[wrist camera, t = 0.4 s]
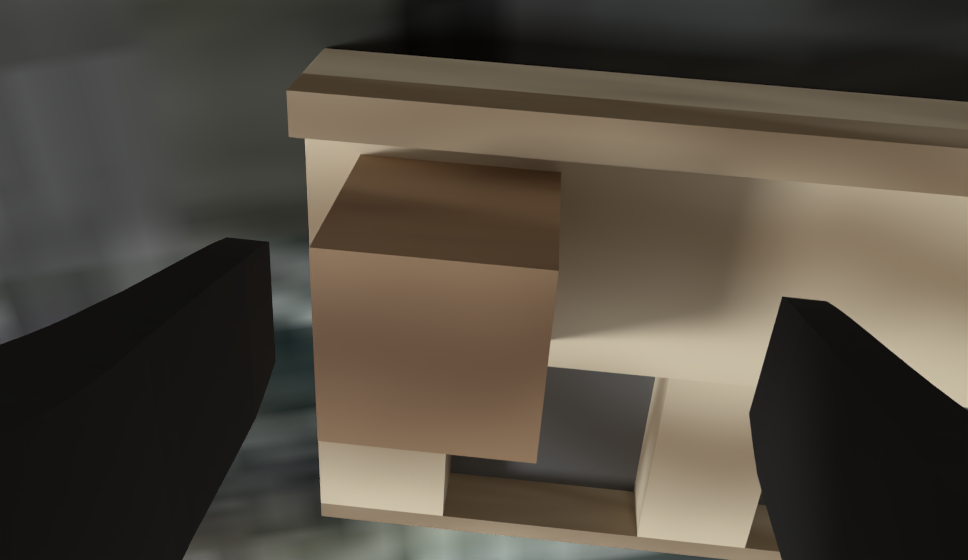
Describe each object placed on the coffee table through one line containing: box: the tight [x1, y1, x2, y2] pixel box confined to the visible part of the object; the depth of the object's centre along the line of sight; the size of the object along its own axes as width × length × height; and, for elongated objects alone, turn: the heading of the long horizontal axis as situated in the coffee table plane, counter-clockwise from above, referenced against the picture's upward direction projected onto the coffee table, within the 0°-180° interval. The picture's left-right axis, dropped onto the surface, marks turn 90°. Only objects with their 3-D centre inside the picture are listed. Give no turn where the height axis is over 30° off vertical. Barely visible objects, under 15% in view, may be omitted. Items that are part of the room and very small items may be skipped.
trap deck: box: [287, 48, 968, 560], centre depth 22 cm, size 13×20×4 cm, turn 87°
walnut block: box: [309, 155, 561, 463], centre depth 19 cm, size 4×4×4 cm
